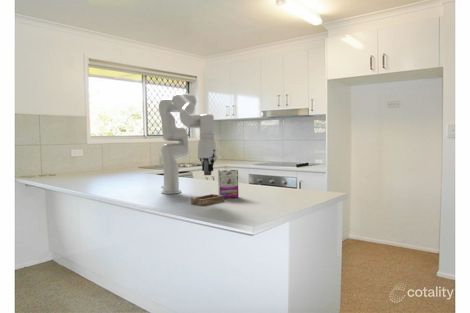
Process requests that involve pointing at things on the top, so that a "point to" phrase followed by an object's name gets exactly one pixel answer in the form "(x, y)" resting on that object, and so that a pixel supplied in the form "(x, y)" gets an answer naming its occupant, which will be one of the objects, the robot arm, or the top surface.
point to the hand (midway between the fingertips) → (207, 170)
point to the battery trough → (207, 199)
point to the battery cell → (206, 167)
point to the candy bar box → (228, 183)
